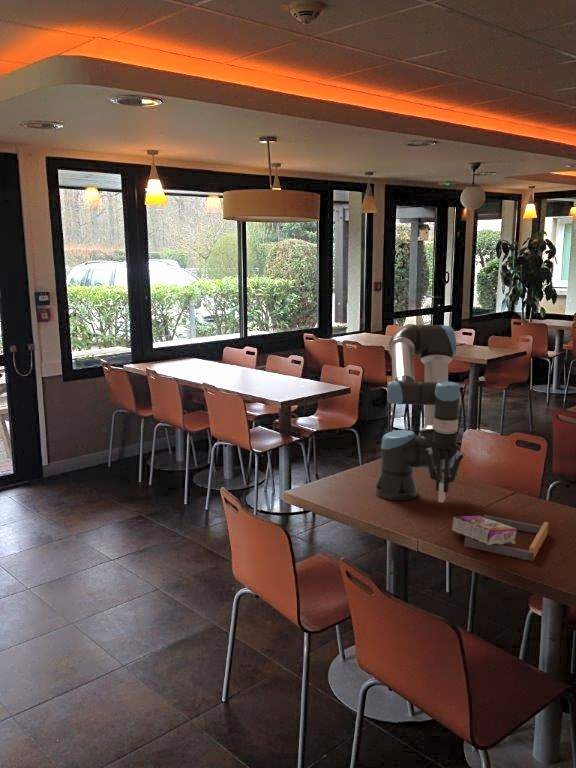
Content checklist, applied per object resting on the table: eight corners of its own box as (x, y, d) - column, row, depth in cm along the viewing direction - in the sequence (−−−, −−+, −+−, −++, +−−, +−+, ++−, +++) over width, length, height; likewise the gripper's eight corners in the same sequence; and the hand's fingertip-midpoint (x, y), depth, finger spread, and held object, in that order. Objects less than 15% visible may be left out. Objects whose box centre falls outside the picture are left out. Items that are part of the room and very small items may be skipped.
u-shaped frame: (464, 546, 207) (464, 533, 206) (484, 521, 226) (484, 510, 225) (532, 561, 197) (533, 548, 196) (547, 534, 216) (548, 522, 215)
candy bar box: (479, 514, 219) (517, 528, 204) (478, 529, 219) (516, 544, 204) (452, 515, 214) (489, 529, 199) (450, 531, 214) (487, 546, 199)
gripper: (421, 430, 216) (418, 500, 221) (462, 436, 210) (458, 508, 215) (428, 425, 222) (425, 493, 227) (468, 430, 216) (464, 500, 221)
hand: (441, 500), depth 221 cm, fingers closed
